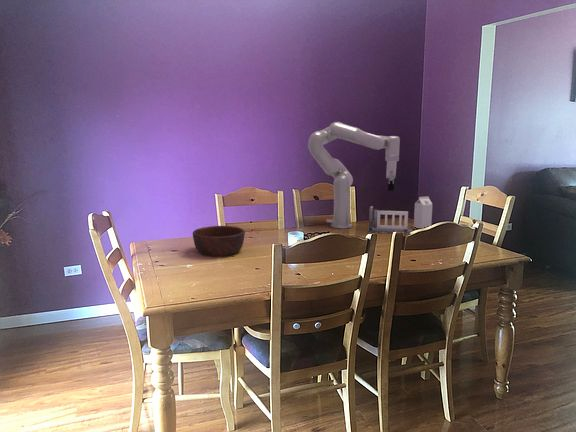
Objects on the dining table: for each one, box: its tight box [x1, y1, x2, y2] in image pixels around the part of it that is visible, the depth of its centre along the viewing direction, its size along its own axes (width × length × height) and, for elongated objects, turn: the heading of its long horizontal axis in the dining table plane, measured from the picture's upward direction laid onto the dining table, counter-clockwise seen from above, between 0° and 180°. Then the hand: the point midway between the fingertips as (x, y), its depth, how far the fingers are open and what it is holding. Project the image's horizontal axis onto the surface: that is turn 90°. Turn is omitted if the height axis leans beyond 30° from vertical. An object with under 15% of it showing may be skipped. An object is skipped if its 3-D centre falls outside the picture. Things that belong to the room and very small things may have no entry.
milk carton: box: [413, 195, 433, 229], centre depth 293 cm, size 7×7×19 cm
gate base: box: [367, 205, 414, 235], centre depth 286 cm, size 25×9×14 cm, turn 79°
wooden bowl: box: [192, 225, 245, 258], centre depth 245 cm, size 25×25×10 cm
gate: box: [373, 209, 409, 229], centre depth 286 cm, size 19×2×10 cm, turn 79°
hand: (390, 190), depth 288 cm, fingers closed
